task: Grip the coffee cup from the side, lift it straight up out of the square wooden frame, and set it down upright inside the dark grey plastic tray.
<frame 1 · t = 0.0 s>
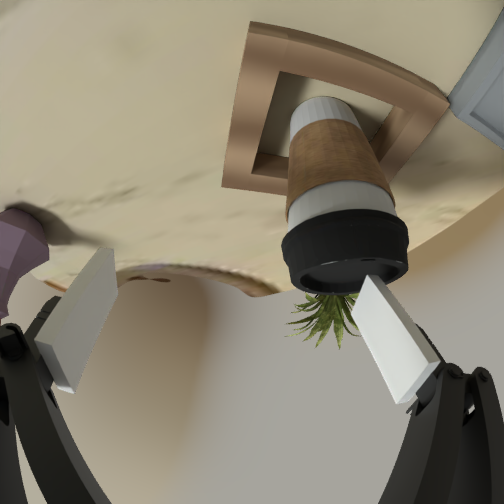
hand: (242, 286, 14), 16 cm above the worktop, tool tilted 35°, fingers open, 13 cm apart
house plant: (329, 243, 44), on the worktop
square wooden frame: (323, 121, 22), on the worktop
flask: (23, 220, 38), on the worktop
coffee cup: (322, 120, 23), resting in square wooden frame, touching gripper
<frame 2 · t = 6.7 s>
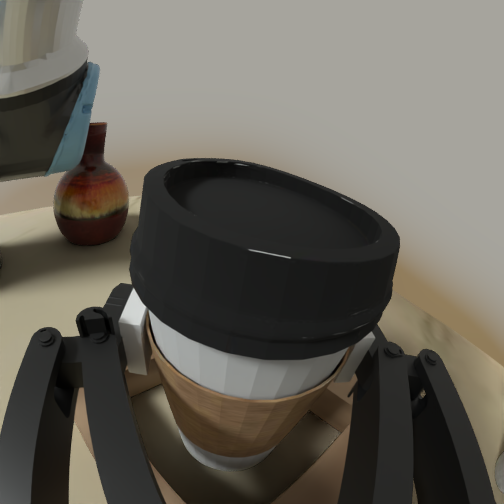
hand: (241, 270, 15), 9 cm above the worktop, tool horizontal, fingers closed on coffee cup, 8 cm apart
house plant: (501, 473, 9), on the worktop
square wooden frame: (226, 430, 15), on the worktop
vase: (92, 235, 35), on the worktop
coffee cup: (227, 432, 15), resting in square wooden frame, touching gripper
when the fingers open (11 cm above the worktop, at t = 12.5 s): coffee cup drops 2 cm, point 1 cm above the worktop.
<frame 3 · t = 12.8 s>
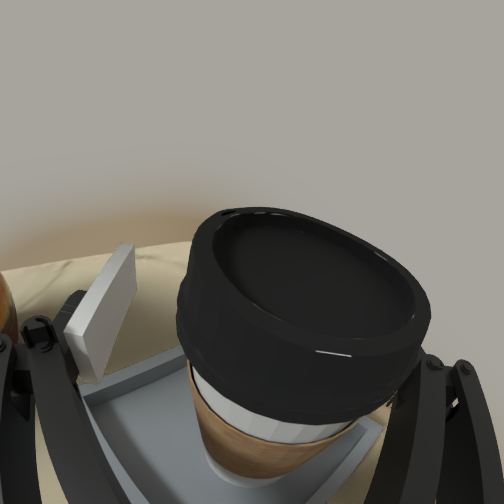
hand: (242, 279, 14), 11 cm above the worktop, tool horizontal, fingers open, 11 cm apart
tray: (223, 443, 16), on the worktop
coffee cup: (249, 451, 15), point 1 cm above the worktop, touching gripper
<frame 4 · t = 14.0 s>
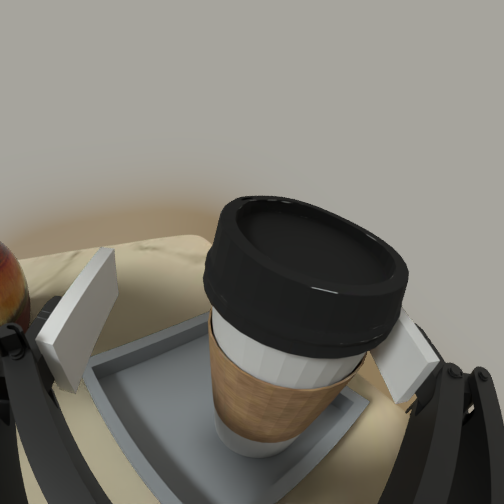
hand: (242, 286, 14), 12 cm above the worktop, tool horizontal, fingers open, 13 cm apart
tray: (219, 413, 18), on the worktop
coffee cup: (255, 424, 17), point 1 cm above the worktop, touching tray
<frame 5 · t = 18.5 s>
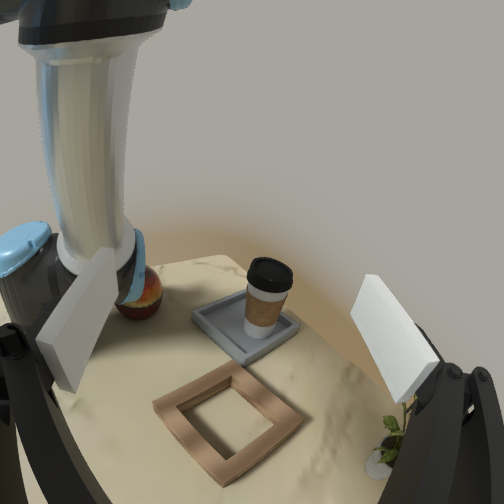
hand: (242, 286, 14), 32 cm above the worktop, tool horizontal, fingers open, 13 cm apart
house plant: (370, 465, 31), on the worktop
square wooden frame: (227, 423, 37), on the worktop
tray: (244, 327, 58), on the worktop
vase: (138, 308, 57), on the worktop
coffee cup: (257, 330, 57), point 1 cm above the worktop, touching tray
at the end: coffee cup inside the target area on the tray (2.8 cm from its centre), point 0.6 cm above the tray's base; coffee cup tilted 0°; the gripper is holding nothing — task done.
